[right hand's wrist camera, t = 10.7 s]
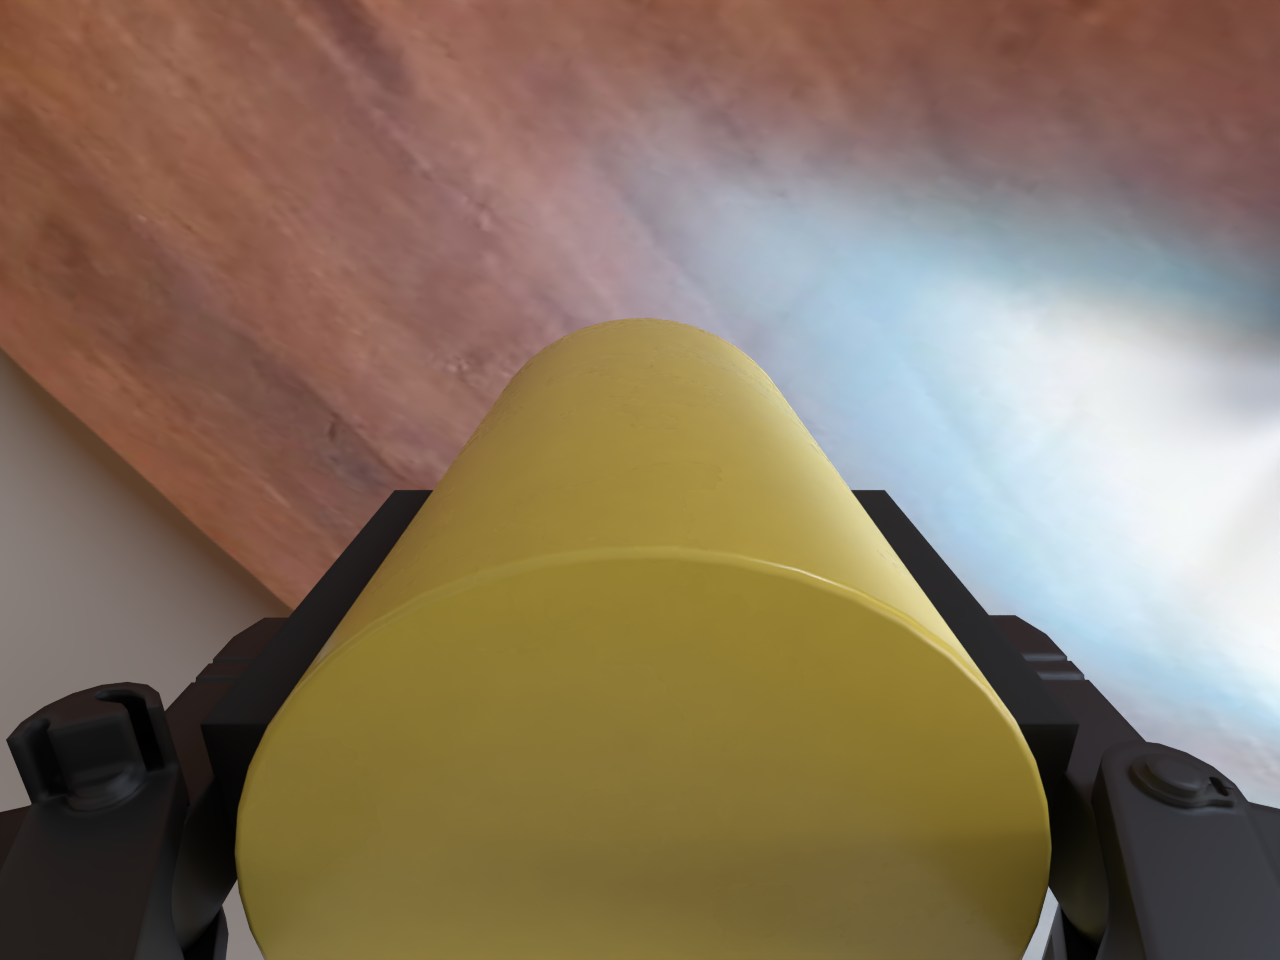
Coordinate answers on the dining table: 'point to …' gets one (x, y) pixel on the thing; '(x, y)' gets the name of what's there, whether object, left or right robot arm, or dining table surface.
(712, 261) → the dining table surface
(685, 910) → the cylinder
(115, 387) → the dining table surface
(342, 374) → the dining table surface
